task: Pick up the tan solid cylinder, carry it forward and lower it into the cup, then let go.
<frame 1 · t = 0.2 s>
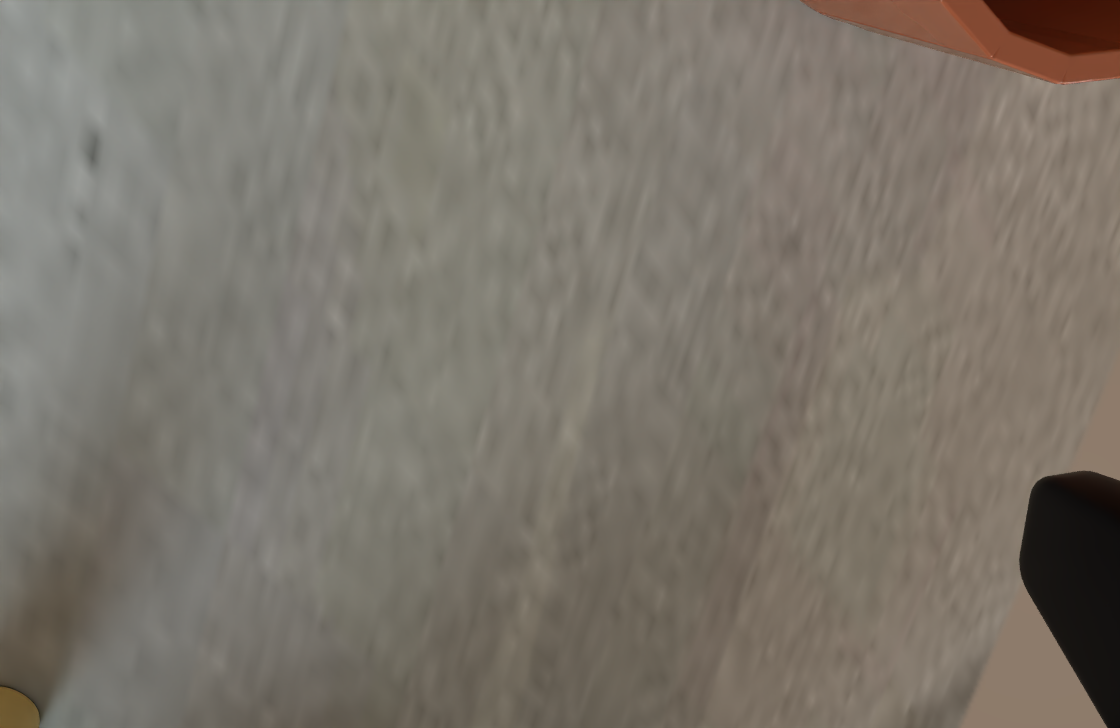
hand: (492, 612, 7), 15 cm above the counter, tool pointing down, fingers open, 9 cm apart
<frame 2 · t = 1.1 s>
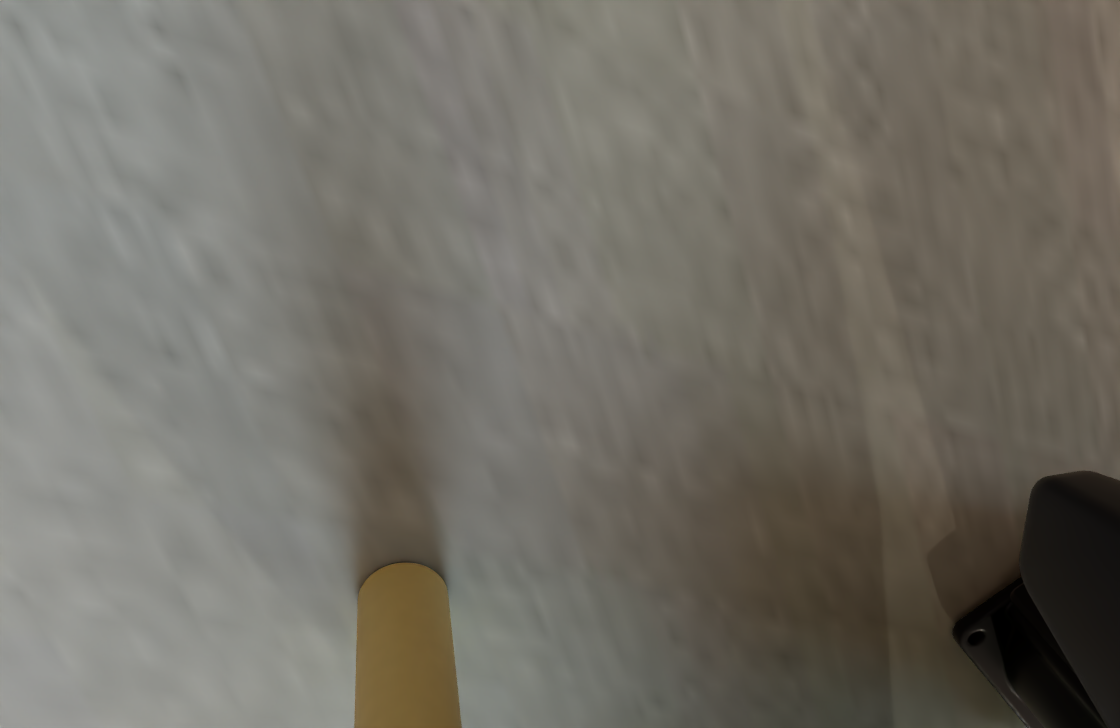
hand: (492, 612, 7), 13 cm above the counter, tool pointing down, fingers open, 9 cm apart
tan solid cylinder: (403, 597, 24), on the counter
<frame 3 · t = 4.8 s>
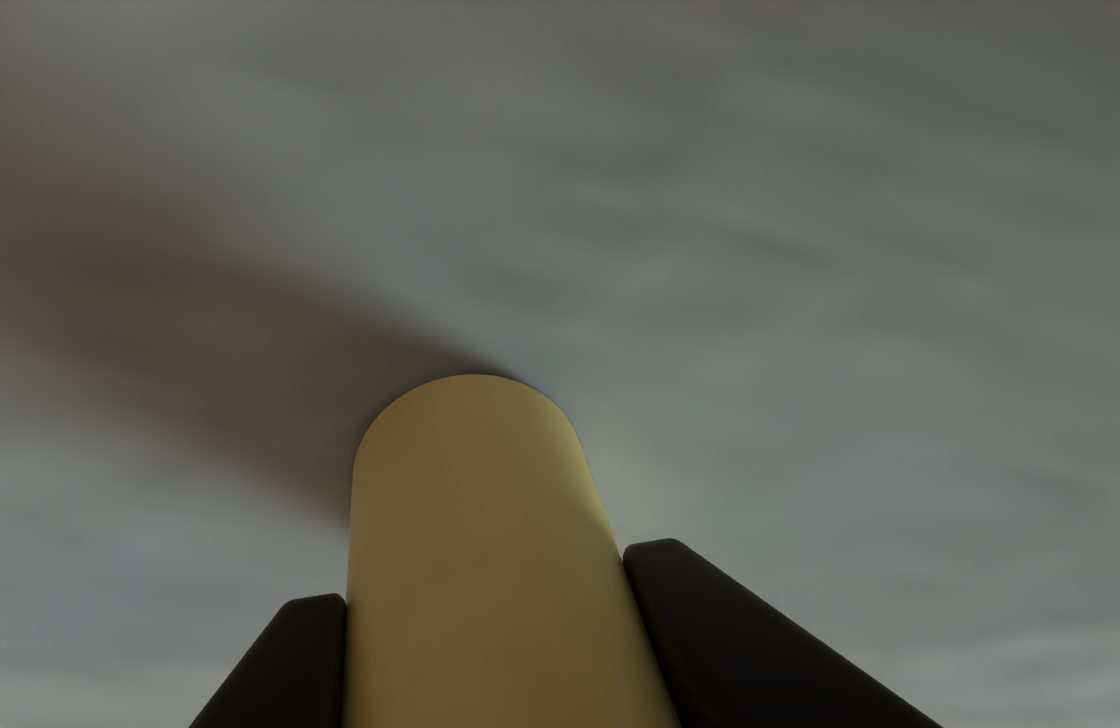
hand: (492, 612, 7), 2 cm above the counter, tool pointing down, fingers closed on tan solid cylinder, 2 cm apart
tan solid cylinder: (469, 474, 9), on the counter, touching gripper
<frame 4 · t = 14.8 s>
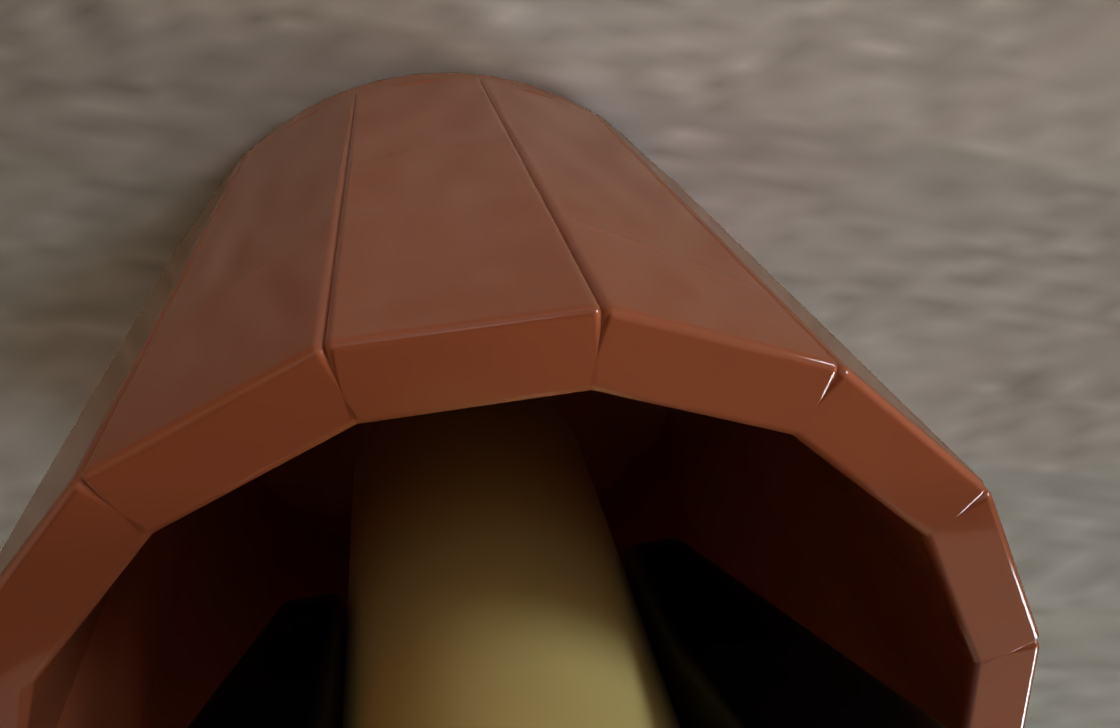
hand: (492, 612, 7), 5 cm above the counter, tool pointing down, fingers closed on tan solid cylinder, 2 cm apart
cup: (452, 340, 12), on the counter
tan solid cylinder: (470, 478, 9), point 3 cm above the counter, touching gripper
when the fingers open (7 cm above the counter, at t = 17.5 s): tan solid cylinder drops 5 cm, resting on cup.
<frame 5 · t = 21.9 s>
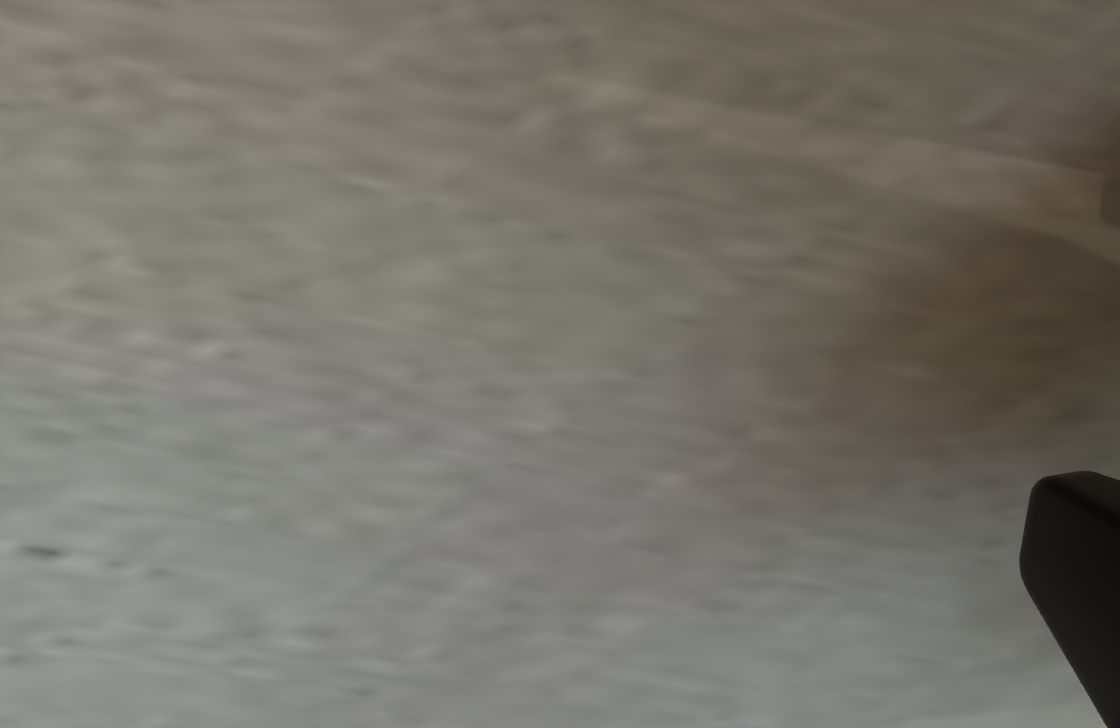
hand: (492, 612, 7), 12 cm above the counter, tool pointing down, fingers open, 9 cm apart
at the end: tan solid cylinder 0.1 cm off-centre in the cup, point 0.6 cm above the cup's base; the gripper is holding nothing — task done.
